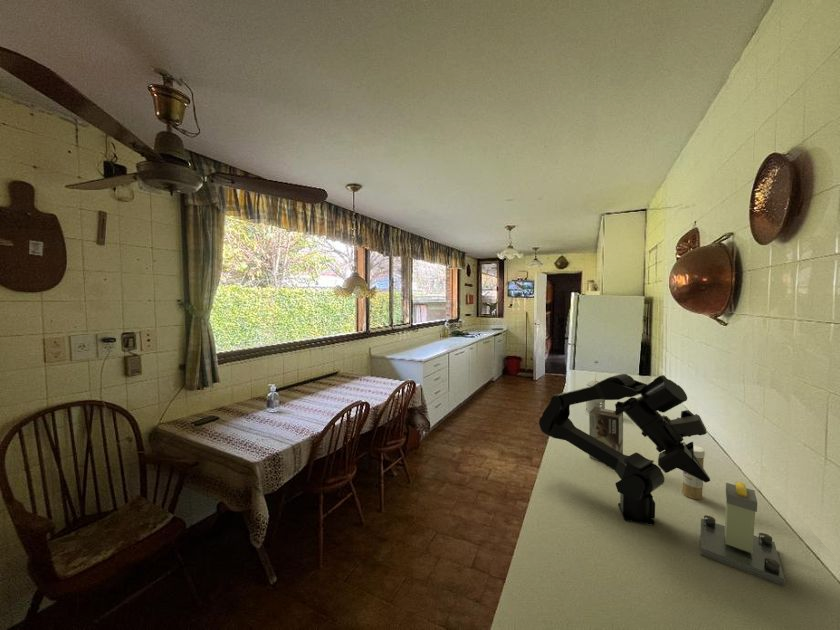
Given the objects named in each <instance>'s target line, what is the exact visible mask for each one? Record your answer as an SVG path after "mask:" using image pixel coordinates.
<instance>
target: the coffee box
mask: <svg viewBox="0 0 840 630" xmlns="http://www.w3.org/2000/svg"><path fill="white" fill-rule="evenodd" d="M588 416H589V417H588V418H589V419H588V420H589V421H588V422H589V423H588V424H589V425H588V426H589V427H588V428H589V429H588V430H589V431H588V432H589V433H588V435H590V436H592V437H594V438H596V439H597V440H599V441H601V442H603V443H604V444H606V445H608V446H610V447H611V448H613V449H615V450H617V451H618V452H620V453H622V454H624V412H623V413H621V414H619V415H615V410H611V409H608V408H605V409H602V408H596V407H594V408H593V409H592V410H591V411H590V412H589V415H588ZM588 456H589V459H593V460H597V459H595V458H594V457H592V456H590V455H589V454H588ZM597 461H598V460H597Z"/></svg>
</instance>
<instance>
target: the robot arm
mask: <svg viewBox="0 0 840 630" xmlns="http://www.w3.org/2000/svg"><path fill="white" fill-rule="evenodd" d="M639 395H640V396H639ZM635 396H639V397H638V398H636V397H635ZM625 398H628V399H627V400H624V401H620V400H622V399H625ZM596 399H602V400H605V401H617V402H616V403H615V404H614V407H615V410H614V411H615V415H619V414H621V413H623V414H624V413H625V414H626V415H627V416H628V418H629V419H630V420H631V421H632V422H633V423H634V424H635V425H636V426H637V427H638V429H640V430H641V435H642V436H643V437H644V438H646V437H647V438H649V440H650V441H651V442H652V443H654V445H655V450H656V451H658V453H659V454H658V456H657V457H658V458H657V464H655V463H654V462H655V461H654V460H653V459H648V458H646V457H645V456H643V455H642V454H641V453H638V452H634V453H632V454H630V455H627V454H624V453H623V454H622V453H620V452H618V451H617V450H615V449H613V448H611V447H610V446H608V445H606V444H604V443H603V442H601V441H599V440H597V439H596V438H594V437H592V436H590V435H589V433H586V432H585V431H583V430H581V429H580V428H578V427H576V426H575V424H574V423H573V421H572V420H571V419H570V418H569V417H570V411H571V410H570V406H572V405H576V404H581V403H586V401H591V400H596ZM618 400H619V401H618ZM687 401H688V395H687V393H686V392H685V389H683V387H681V386H680V385H679V384H677V383H676V382H675V381H673V380H671V379H668V378H667V377H666V376H665V374H663V375H659V376H657V377H656V378H654V379H653V380H652V381H651V382H649V383H644V382H641V381H638V380H635V379H634V378H633V377H632V376H631V375H628V374H627V373H621V374H615V375H613V376H608V377H605V378H604V379H603V380H600V381H599V382H598V383H597V384H595V385H593V386H588V387H583V388H579V389H575V390H572V391H571V390H570V391H568V392H567V391H566V392H560V393H555V394H554V395H553V396H552V397H551V399H550V402H549V404H548V405H547V407H546V408H545V410H544V411H543V412H542V415H541V417H539V420H538V425H539V428H540V431H541V432H542V433H543V434H544V435H546V436H549V438H553V439H557V440H561V441H565V442H568V443H569V444H570V445H573V446H575V447H576V448H578V449H579V450H581V451H582V452H584V453H585V454H587V455H588V456H589V455H590V456H592V457H594V458H595V459H594V460H596V459H597V461H598V462H600V463H601V464H603V465H605V466H606V467H609V468H610V469H611V470H613V471H614V472H615V473H616V474H617V475H618V477H619V479H620V480H617V482H615V484H614V485H615V487H616V490H617V493H619V495H620V496H619V499H620V500H619V502H618V504H617V506H618V508H619V511H620V513H621V515H622V518H623V520H625V521H627V522H632V523H639V524H644V525H651V526H655V525H656V522H655V520H654V519H656V502H655V500H654V496H653V495H652V493H653V492H654V491H655V490H657V489H658V488H659V487H661V486H662V485H664V483H665V477H664V473H670V472H672V471H674V470H676V469H678V470H679V471H682V472H683V471H684V472H686V473H688V474H690V475H692V476H694V477H696V478H698V479H700V480H702V481H703V483H709V482H710V481H711V478H710V476H709V475H708V472H707V471H706V470H705V469H703V468H704V466H703V467H702V466H701V464H700V463H699V461H698V460H697V458H696V456H695V455H694V448H693V447H694V446H693V445H694V442H693V441H691V442H688V443H686V442H685V441H684V438H686V437H689V438H690V437H693V436H704V435H706V434H707V433H708V432H707V428H706V426H705V424H704V422H703V419H702V418H701V417H700V415H699V414H697V413H693V412H692V411H690V410H689V409H687V410H682V411H681V412H680V417H676V418H674V419H671V418H669V417H668V416H667V415H664V414H663V415H662V414H661V413H666V412H667V411H670V410H672V409H674V408H675V407H677V406H679V405H681V404H682V403H685V402H687ZM662 471H663V472H664V473H663V472H662Z"/></svg>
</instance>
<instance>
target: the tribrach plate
mask: <svg viewBox="0 0 840 630" xmlns="http://www.w3.org/2000/svg"><path fill="white" fill-rule="evenodd" d="M700 555H701V556H703V557H706V558H708V559H711V560H714V561H717V562H719V563H721V564H725V565H727V566H730V567H732V568H735V569H738V570H741V571H743V572H745V573H749V574H751V575H753V576H755V577H758V578H761V579H764V580H767V581H769V582H772V583H773V584H777V585H779V586H783V587H785V575H784V571H783V568H782V564H781V561H780V557H779V554H778V551H777V546H776V544H775V541H773V537H772V536H770V535H769V534H767V533H764V532H759V533H758V536H757V535H754V539H753V554H752V553H749V552H747V551H744V550H741V549H738V548H736V547H733V546H730V545H727V544H726V541H725V525H723V524H720V523H716V519H715V517H713V516H710V515H708V514H707V515H706V514H705V515H704V516H703V518H700Z"/></svg>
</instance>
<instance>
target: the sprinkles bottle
mask: <svg viewBox="0 0 840 630" xmlns="http://www.w3.org/2000/svg"><path fill="white" fill-rule="evenodd" d="M693 446H694V447H693V448H694V455H695V456H696V458H697V460H698V461H699V463H700V464H701V466H702V467H703V469H704V461H705V460H704V459H705V454H706V453H705V452H706V450H705V449H704V448H703V447H701V446H698V445H695V444H693ZM704 470H705V469H704ZM681 478H682V479H681V480H682V488H681V493H682V494H683V495H684V496H686V497H687V498H689V499H694V500H702V499H703V498H704V495H703V488H704V481H702V480H700V479H698V478H696V477H694V476H692V475H690V474H688V473H686V472H684V471H682V477H681Z"/></svg>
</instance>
